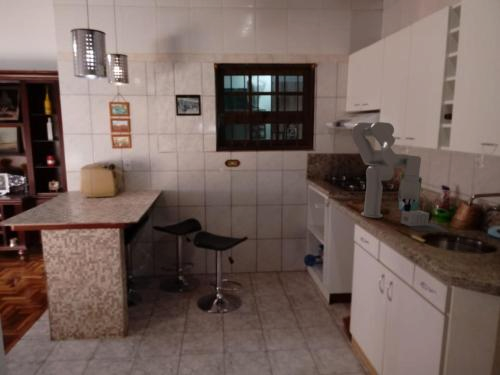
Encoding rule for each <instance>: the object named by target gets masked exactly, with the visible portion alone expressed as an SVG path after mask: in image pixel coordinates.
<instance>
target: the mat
mask: <svg viewBox="0 0 500 375" xmlns="http://www.w3.org/2000/svg"><path fill="white" fill-rule="evenodd" d="M408 227H409V228H411V229H412V230H414V231H415V232H416V231H417V232H429V233H430V232H431V233H433V232H434V233H449V234H450V231H449V230H447V229H445V228H443V227H441V226H439V225H437V224H436V223H433V222H431V223H430V222H428V226H408Z"/></svg>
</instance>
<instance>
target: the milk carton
mask: <svg viewBox="0 0 500 375" xmlns="http://www.w3.org/2000/svg"><path fill="white" fill-rule="evenodd" d="M403 179H404V172H402V173H401V179H400V182H401V181H402V180H403ZM422 180H423V178H422V177H421V179H419V180H418V181H419V183H420V191H422V190H421V189H422ZM420 195H421V193H420V194H419V198H418V200H419V201H416V202H413V203H412V205H411V209H410V211H419V203H420ZM402 199H403V198H402ZM408 201H409V199H408ZM404 204H405V203H404V202H403V201H401V200H398V203H397V210H400V211H405V210H404Z"/></svg>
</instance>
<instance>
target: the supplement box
mask: <svg viewBox="0 0 500 375" xmlns="http://www.w3.org/2000/svg"><path fill="white" fill-rule="evenodd" d="M401 211H402V212H401V220H400V223H401V224H403V225H405V226H407V227H409V226H428V223H429V218H430V212H426V211H423V210H418V211H410V212H406V211H403V210H401Z"/></svg>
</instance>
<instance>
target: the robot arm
mask: <svg viewBox="0 0 500 375" xmlns="http://www.w3.org/2000/svg"><path fill="white" fill-rule="evenodd" d="M394 132H395V126H394V125H393V124H391V123H390V122H385V121H384V122H383V121H377V122H358V123H356V124H354V125H353V126H352V129H351V137H352V138H351V139H352V141H353V143H354V144H355V146H356V148H357V150H358V153H359V154H360V157H361V160H362V161H363V164H364V165H366V166H367V165H368V167H367V168H366V170H365V171H366V172H365V175H366V176H365V178H366V186H365V188H366V189H365V195H364V196H365V197H364V198H365V199H364V205H363V206H364V207H363V211H361V213H360V215H361V216H362V217H367V218H373V219H381V218H383V214H382V213H381V208H382V207H381V206H382V197H383V187H384V186H383V184H382V181H390V180H391V179H392V178H393V177H394V175H395V170H394V169H395V168H396V169H398V168H400V169H401V168H403V169H404V172H403V174H404V179H403V180H402V181H401V180H400V185H399V189H398V191H397V192H398V194H397V196H398V201H399V200H401V201H403V202H404V203H405V204H404V210H405V211H406V212H410V209H411V205H412V203H413V202H416V201H419V202H420V197H419V194H420V195H421V190H420V183H419V181H418V180H419V179H421V178H422V176H420V171H421V170H420V169H421V163H422V158H421V157H420V156H418V155H410V154H406V153H405V154H404V153H395V152H394V151H393V149H392V146H393V145H394V144H395V142H396V138H395V136H393V135H394ZM368 137H370V138H371V137H373V138H375V140H376V141H377V143H378V144H379V145H380V146H381V149H374V147H373V145H372V142H371V141H370V140H369V139H368ZM402 198H403V199H402ZM418 198H419V200H418ZM408 199H409V201H408Z"/></svg>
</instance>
